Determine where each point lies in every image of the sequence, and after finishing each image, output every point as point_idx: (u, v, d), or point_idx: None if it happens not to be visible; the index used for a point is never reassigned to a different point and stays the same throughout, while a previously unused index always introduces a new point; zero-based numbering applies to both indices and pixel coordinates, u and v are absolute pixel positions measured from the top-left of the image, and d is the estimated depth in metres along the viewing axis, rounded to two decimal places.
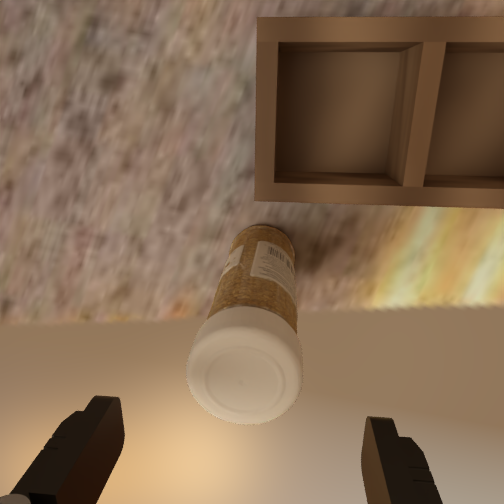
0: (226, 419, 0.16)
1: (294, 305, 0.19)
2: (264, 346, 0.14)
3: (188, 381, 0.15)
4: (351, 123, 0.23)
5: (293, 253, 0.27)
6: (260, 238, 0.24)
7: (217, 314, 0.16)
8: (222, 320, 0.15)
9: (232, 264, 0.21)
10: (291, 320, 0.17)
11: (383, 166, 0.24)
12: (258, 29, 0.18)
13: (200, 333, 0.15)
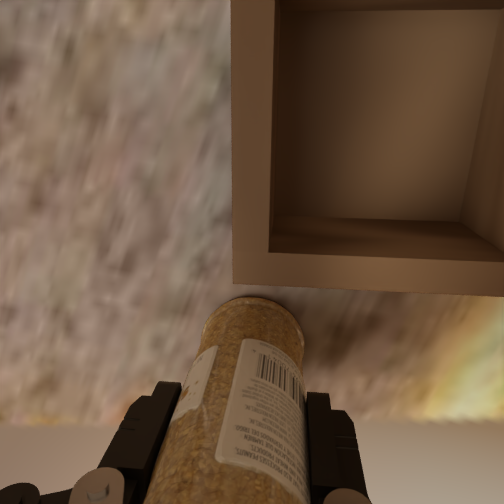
0: None
1: None
2: None
3: None
4: (404, 138, 0.13)
5: (302, 342, 0.17)
6: (246, 330, 0.14)
7: None
8: None
9: (190, 402, 0.11)
10: None
11: (456, 209, 0.14)
12: None
13: None
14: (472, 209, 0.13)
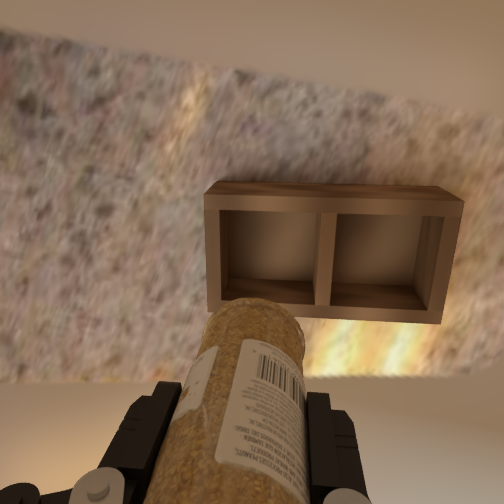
0: None
1: None
2: None
3: None
4: (284, 246, 0.31)
5: (302, 342, 0.17)
6: (247, 331, 0.14)
7: None
8: None
9: (190, 403, 0.11)
10: None
11: (310, 276, 0.31)
12: (205, 201, 0.26)
13: None
14: (313, 278, 0.31)
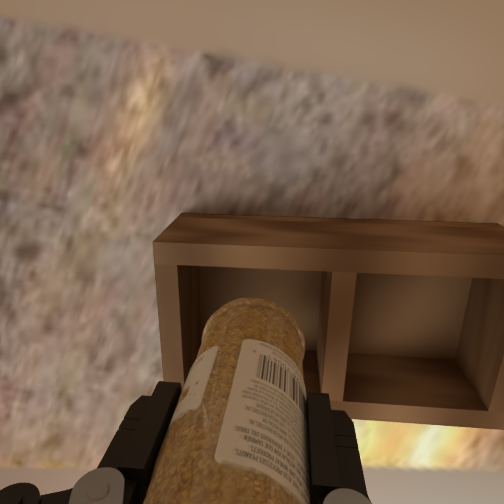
0: None
1: None
2: None
3: None
4: None
5: (302, 342, 0.17)
6: (247, 331, 0.14)
7: None
8: None
9: (190, 403, 0.11)
10: None
11: (313, 344, 0.23)
12: (155, 253, 0.17)
13: None
14: (317, 349, 0.22)
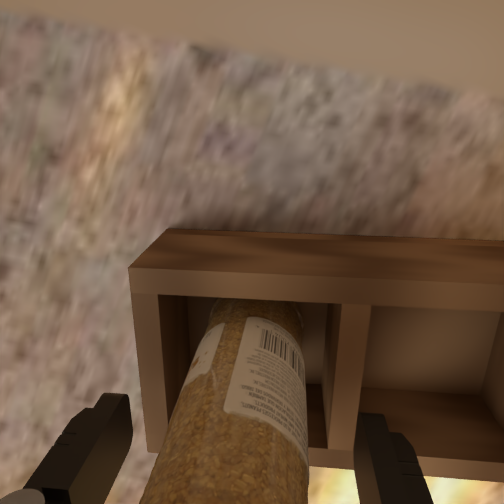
0: None
1: (304, 463, 0.11)
2: None
3: None
4: None
5: (302, 323, 0.18)
6: (250, 310, 0.16)
7: None
8: None
9: (200, 369, 0.13)
10: None
11: (318, 377, 0.20)
12: (131, 280, 0.14)
13: None
14: (323, 384, 0.19)
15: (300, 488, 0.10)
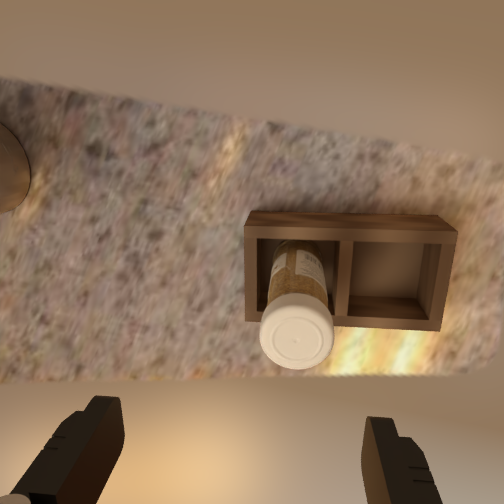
0: (284, 365, 0.25)
1: (325, 294, 0.28)
2: (310, 317, 0.23)
3: (261, 340, 0.24)
4: None
5: (321, 258, 0.35)
6: (297, 248, 0.33)
7: (278, 298, 0.25)
8: (283, 301, 0.24)
9: (280, 266, 0.30)
10: (325, 303, 0.26)
11: (330, 290, 0.37)
12: (245, 231, 0.32)
13: (268, 310, 0.24)
14: (332, 292, 0.36)
15: (325, 297, 0.27)
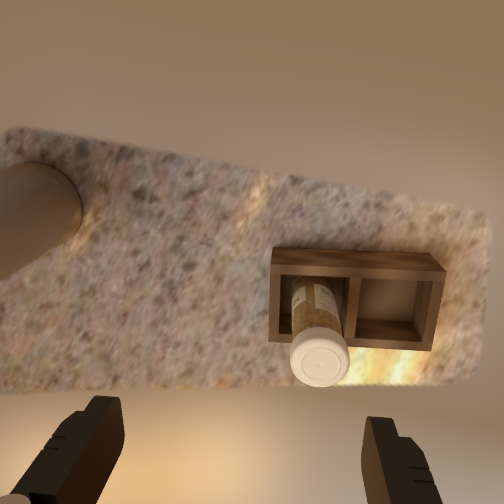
0: (310, 384, 0.31)
1: (340, 324, 0.35)
2: (331, 347, 0.30)
3: (292, 364, 0.31)
4: None
5: (332, 288, 0.42)
6: (313, 281, 0.40)
7: (305, 331, 0.31)
8: (309, 334, 0.31)
9: (301, 299, 0.37)
10: (340, 333, 0.33)
11: None
12: (271, 269, 0.38)
13: (297, 340, 0.31)
14: (341, 316, 0.43)
15: (340, 328, 0.34)
